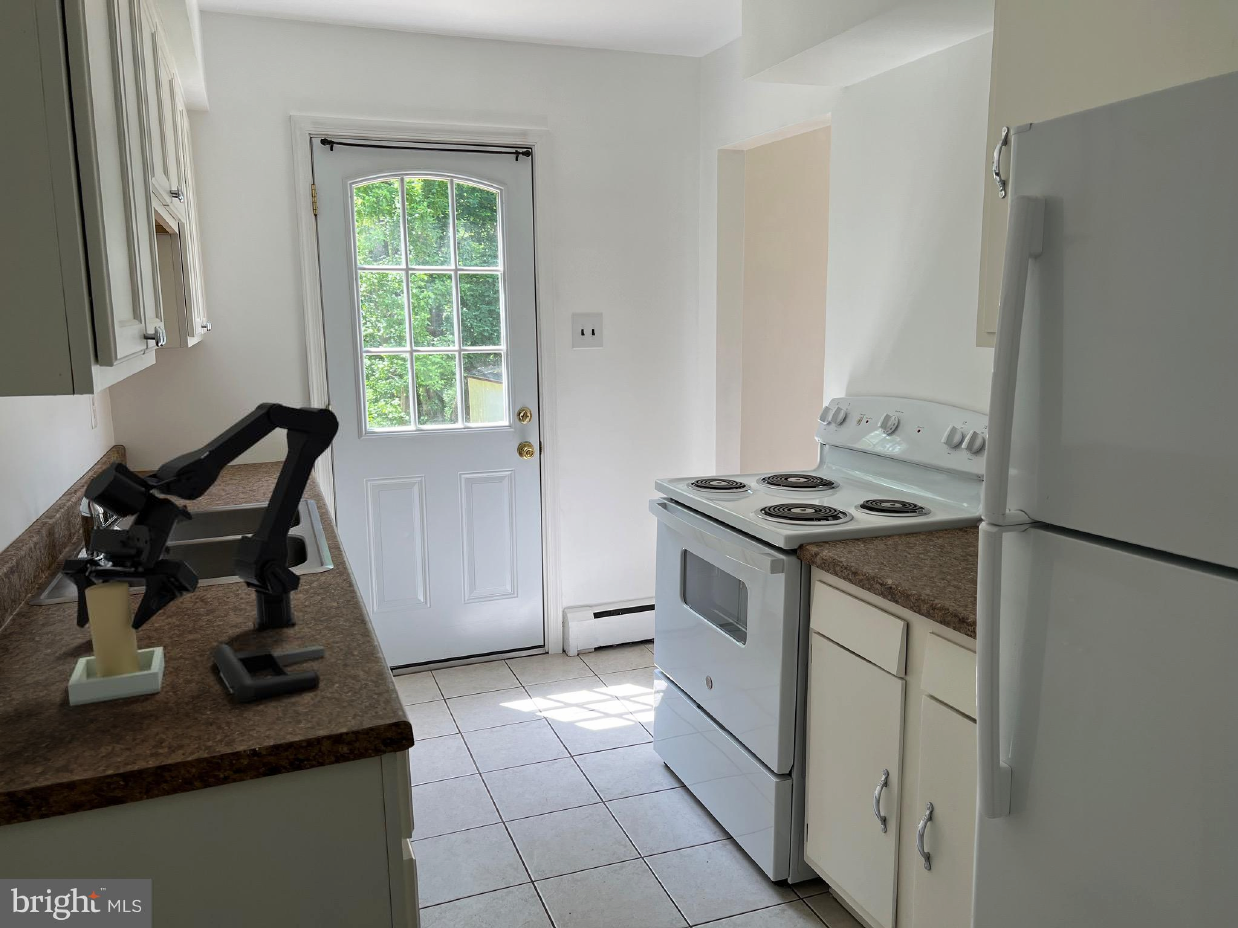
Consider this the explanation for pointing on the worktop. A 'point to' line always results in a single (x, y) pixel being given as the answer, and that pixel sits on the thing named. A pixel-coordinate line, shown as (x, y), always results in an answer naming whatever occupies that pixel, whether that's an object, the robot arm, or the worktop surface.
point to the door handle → (246, 662)
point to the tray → (116, 679)
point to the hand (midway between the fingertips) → (106, 627)
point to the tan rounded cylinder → (112, 629)
